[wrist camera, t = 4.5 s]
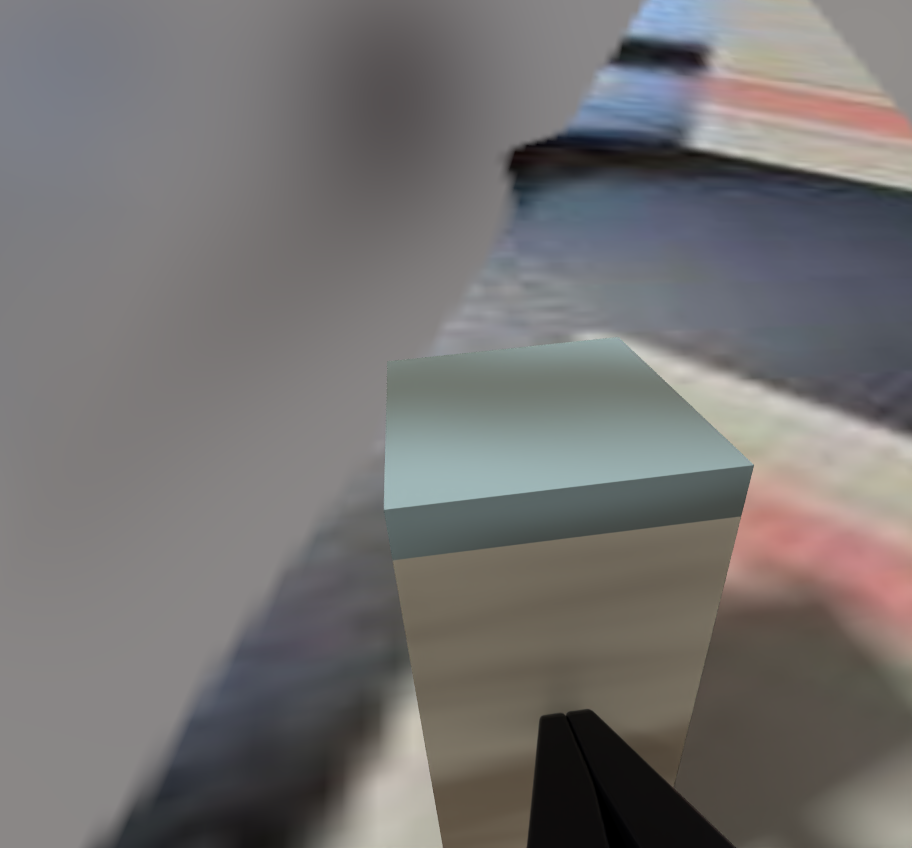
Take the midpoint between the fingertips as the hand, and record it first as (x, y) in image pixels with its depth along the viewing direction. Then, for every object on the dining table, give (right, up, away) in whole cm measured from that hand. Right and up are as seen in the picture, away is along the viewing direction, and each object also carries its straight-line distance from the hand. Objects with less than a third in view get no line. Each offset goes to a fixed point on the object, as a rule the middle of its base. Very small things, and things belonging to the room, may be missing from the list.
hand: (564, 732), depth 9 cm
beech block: (0, -3, +5) cm, 6 cm away
